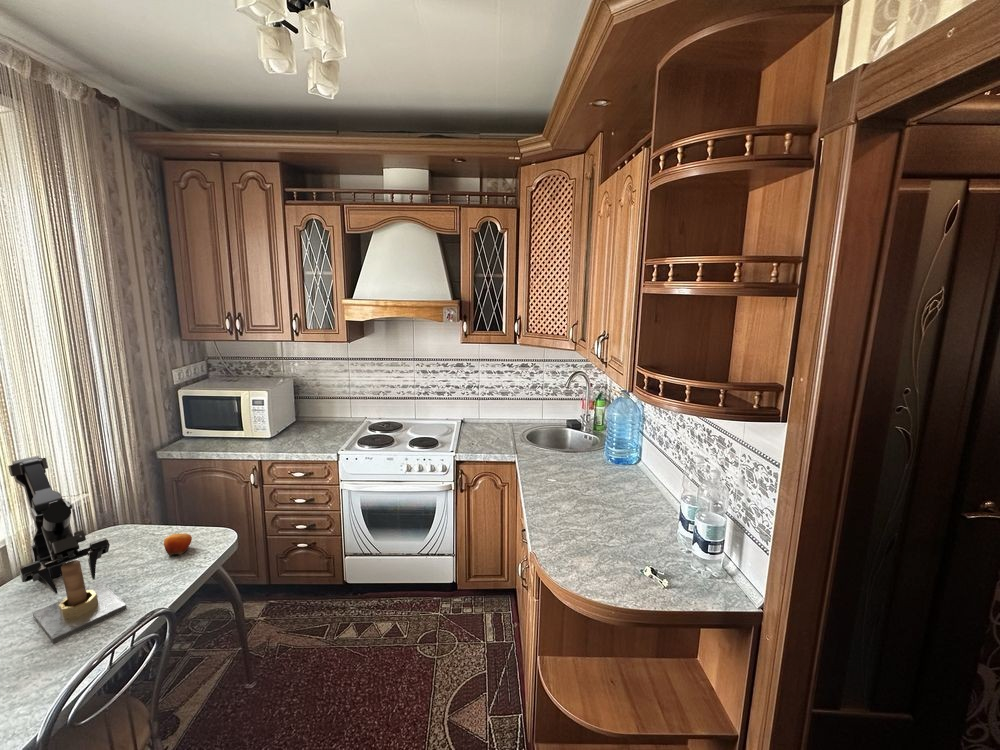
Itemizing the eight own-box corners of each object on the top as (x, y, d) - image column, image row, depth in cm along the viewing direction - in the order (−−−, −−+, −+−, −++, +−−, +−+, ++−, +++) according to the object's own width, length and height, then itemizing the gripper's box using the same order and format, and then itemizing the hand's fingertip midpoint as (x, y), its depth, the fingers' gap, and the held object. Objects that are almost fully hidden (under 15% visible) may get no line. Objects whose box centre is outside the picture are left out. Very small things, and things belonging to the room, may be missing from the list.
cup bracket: (33, 617, 134) (30, 603, 133) (103, 587, 147) (101, 574, 146) (53, 644, 124) (50, 629, 123) (126, 609, 137) (124, 595, 136)
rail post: (73, 606, 136) (64, 562, 133) (90, 602, 138) (82, 558, 135) (68, 614, 133) (58, 570, 130) (86, 610, 135) (77, 566, 132)
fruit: (158, 559, 159) (160, 534, 162) (168, 559, 166) (169, 535, 169) (185, 555, 161) (187, 530, 164) (194, 555, 169) (195, 531, 171)
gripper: (13, 539, 126) (29, 593, 121) (102, 512, 140) (119, 559, 136) (14, 556, 132) (30, 607, 128) (99, 528, 146) (116, 574, 142)
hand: (75, 586), depth 133 cm, fingers open, 8 cm apart
